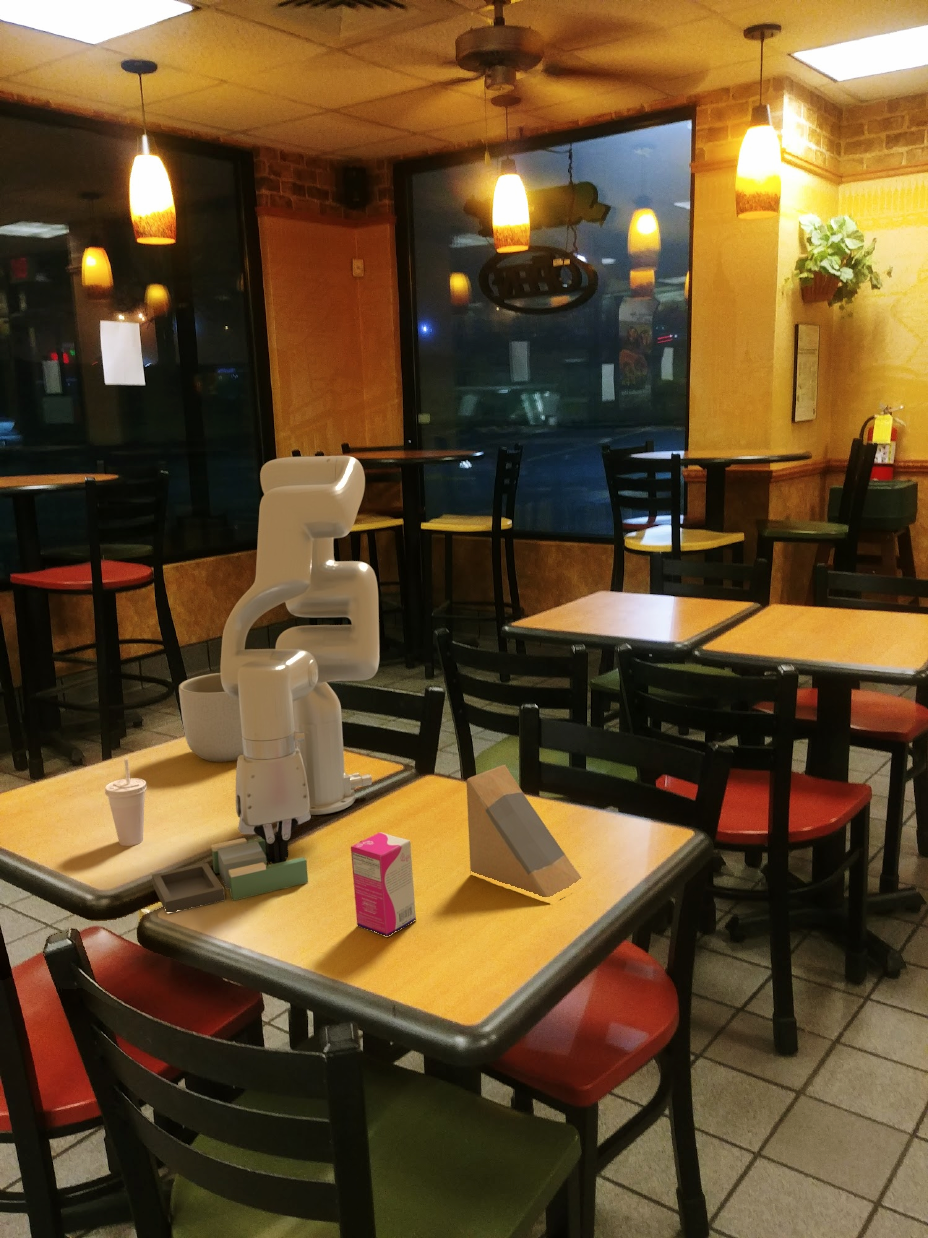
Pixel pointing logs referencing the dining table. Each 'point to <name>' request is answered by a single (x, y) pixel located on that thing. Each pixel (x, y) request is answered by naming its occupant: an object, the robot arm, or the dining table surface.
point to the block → (238, 858)
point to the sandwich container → (513, 837)
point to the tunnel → (261, 873)
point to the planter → (211, 719)
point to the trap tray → (188, 887)
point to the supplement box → (383, 883)
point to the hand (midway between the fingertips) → (277, 863)
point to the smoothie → (127, 807)
